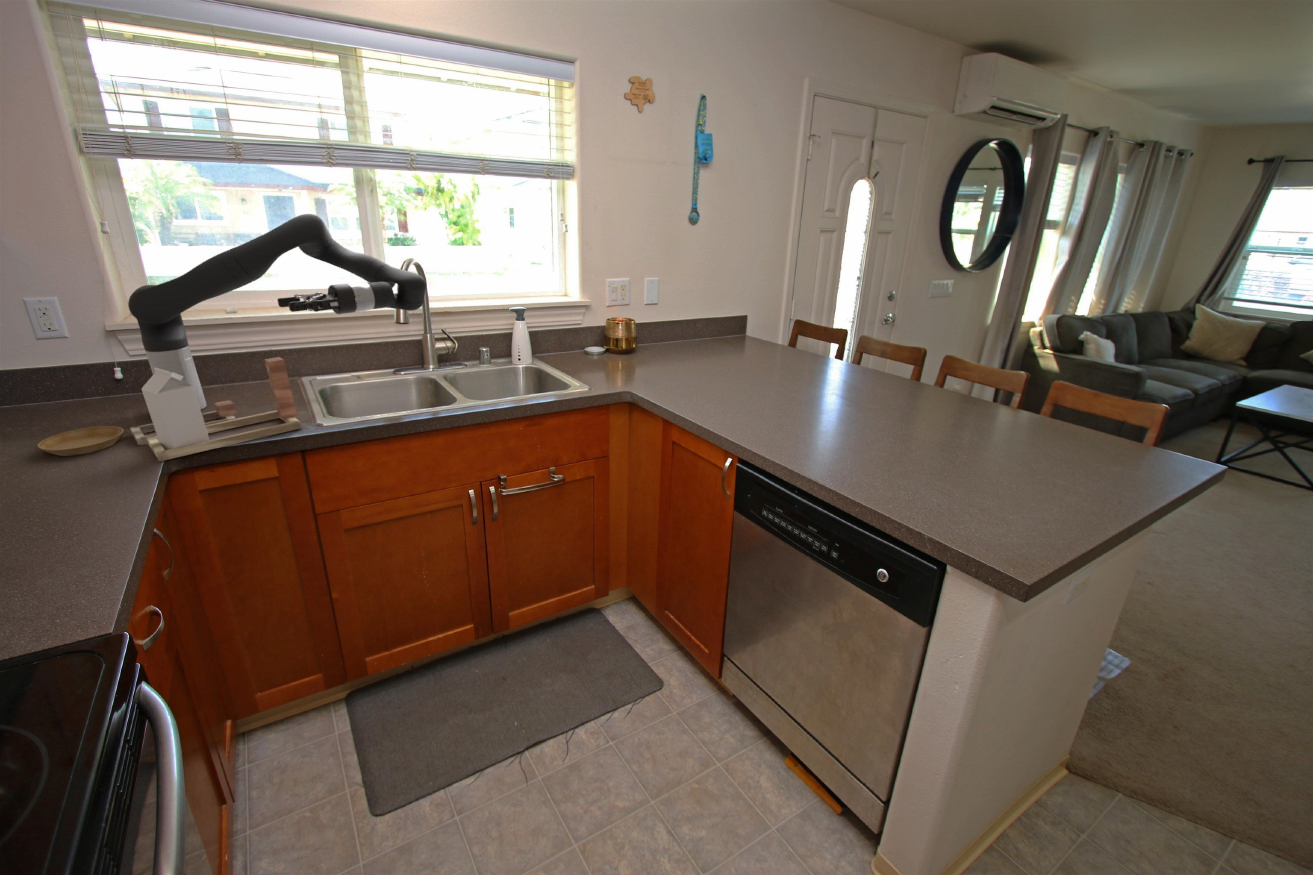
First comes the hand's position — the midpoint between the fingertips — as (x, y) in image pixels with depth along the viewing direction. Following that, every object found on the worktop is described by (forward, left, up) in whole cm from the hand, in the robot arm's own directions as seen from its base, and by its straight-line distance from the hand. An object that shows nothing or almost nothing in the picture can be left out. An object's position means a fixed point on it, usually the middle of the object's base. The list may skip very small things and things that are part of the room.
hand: (283, 305), depth 144 cm
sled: (0, -18, -30) cm, 35 cm away
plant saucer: (-17, -43, -30) cm, 55 cm away
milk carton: (+1, -27, -30) cm, 40 cm away
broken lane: (-13, -24, -30) cm, 41 cm away
